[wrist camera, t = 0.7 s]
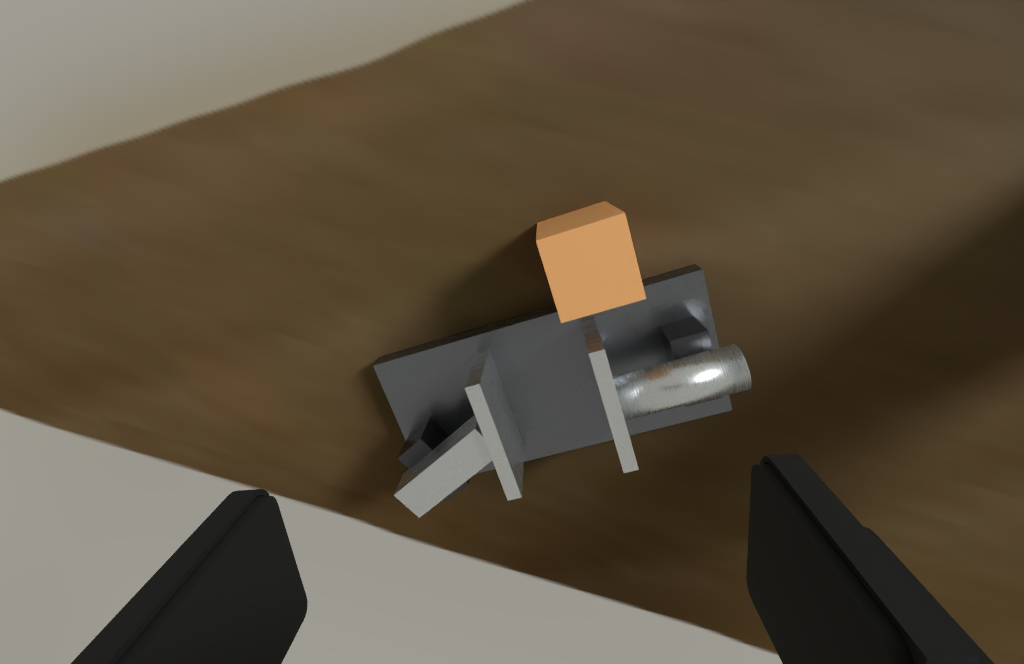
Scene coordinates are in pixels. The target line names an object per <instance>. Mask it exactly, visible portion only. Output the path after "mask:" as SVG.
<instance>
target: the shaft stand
mask: <svg viewBox="0 0 1024 664" xmlns="http://www.w3.org/2000/svg"><path fill="white" fill-rule="evenodd" d="M642 283H643V287H644V291H645V295H646V299H644V300H641V301H637V302H634V303H630V304H627V305H623V306H620V307H616V308H613V309H609V310H606V311H602V312H599V313H595V314H592V315H588V316H585V317H581V318H578V319H575V320H571V321H568V322H564V323H561V321H560V318H559V315H558V311H557V308H556V305H555V306H551V307H548V308H544V309H541V310H538V311H534V312H531V313H527V314H524V315H521V316H517V317H514V318H510V319H507V320H504V321H500V322H497V323H493V324H490V325H487V326H483V327H480V328H476V329H473V330H470V331H466V332H463V333H459V334H456V335H453V336H449V337H446V338H442V339H439V340H436V341H432V342H429V343H425V344H422V345H419V346H415V347H412V348H408V349H405V350H402V351H398V352H395V353H391V354H388V355H385V356H381V357H380V358H379V359H378V360H377V361H376V363H375V364H374V365H373V367H374V370H375V372H376V374H377V376H378V379H379V381H380V383H381V385H382V388H383V390H384V392H385V395H386V397H387V399H388V401H389V404H390V406H391V408H392V411H393V413H394V415H395V417H396V420H397V422H398V424H399V426H400V429H401V431H402V433H403V436H404V438H405V440H406V442H405V444H404V446H403V448H402V450H401V452H400V454H399V456H398V458H397V459H398V460H399V461H400V462H401V463H403V464H404V465H405V466H406V467H407V468H408V469H409V470H408V471H406V472H405V473H404V474H403V476H402V478H401V480H400V482H399V485H398V487H397V489H396V491H395V494H394V496H395V497H396V498H397V499H398V500H400V501H401V502H402V503H403V504H404V505H405V506H406V507H408V508H409V509H410V510H411V511H412V512H413V513H414V514H415V515H417V516H418V517H419V518H420V517H421V516H422V515H424V514H425V513H426V512H427V511H429V510H430V509H431V508H432V507H434V506H435V505H436V504H438V503H439V502H440V501H441V500H444V501H445V502H446V501H447V500H448V499H450V498H451V497H452V496H453V495H455V494H456V493H457V492H458V491H460V490H461V489H462V488H464V487H465V486H466V485H467V484H469V480H470V478H471V477H472V476H473V475H474V474H477V473H481V472H485V471H489V470H493V469H496V471H497V474H498V476H499V479H500V482H501V484H502V487H503V489H504V492H505V495H506V497H507V500H508V501H509V500H513V499H517V498H521V497H522V486H523V469H524V462H525V461H529V460H533V459H537V458H542V457H546V456H550V455H554V454H558V453H562V452H566V451H570V450H574V449H578V448H582V447H586V446H590V445H594V444H598V443H602V442H606V441H610V440H614V442H615V445H616V448H617V452H618V455H619V459H620V462H621V465H622V469H623V472H624V473H627V472H631V471H635V470H639V468H638V465H637V461H636V458H635V454H634V451H633V447H632V444H631V440H630V437H629V436H630V435H634V434H638V433H642V432H646V431H650V430H654V429H658V428H663V427H667V426H671V425H675V424H679V423H683V422H687V421H691V420H695V419H699V418H703V417H707V416H711V415H715V414H719V413H723V412H727V411H731V410H732V406H731V402H730V397H729V394H733V393H737V392H741V391H745V390H749V389H750V388H751V384H752V383H751V375H750V371H749V367H748V364H747V362H746V359H745V357H744V355H743V353H742V351H741V350H740V348H739V347H738V346H737V345H736V344H731V345H728V346H724V347H720V348H719V344H718V339H717V335H716V330H715V325H714V320H713V316H712V311H711V306H710V301H709V296H708V292H707V287H706V282H705V277H704V273H703V269H701V268H700V267H698V266H697V265H695V264H694V265H690V266H687V267H684V268H680V269H677V270H673V271H670V272H667V273H663V274H660V275H656V276H653V277H650V278H646V279H643V280H642Z"/></svg>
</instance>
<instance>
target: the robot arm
mask: <svg viewBox="0 0 1024 664" xmlns="http://www.w3.org/2000/svg"><path fill="white" fill-rule="evenodd" d="M747 586H748V590H749V594H750V597H751V599H752V601H753V604H754V606H755V608H756V610H757V612H758V614H759V616H760V618H761V620H762V622H763V624H764V626H765V628H766V630H767V632H768V634H769V636H770V638H771V640H772V642H773V644H774V646H775V649H776V651H777V653H778V655H779V657H780V659H781V661H782V663H783V664H994V663H993V662H992V661H991V660H990V659H989V658H988V656H987V655H986V654H985V653H984V652H983V651H982V650H981V649H980V648H979V647H978V645H977V644H976V643H975V642H974V641H973V640H972V639H971V638H970V637H969V636H968V634H967V633H966V632H965V631H964V630H963V629H962V628H961V627H960V626H959V625H958V623H957V622H956V621H955V620H954V619H953V618H952V617H951V616H950V615H949V614H948V613H947V611H946V610H945V609H944V608H943V607H942V606H941V605H940V604H939V603H938V602H937V600H936V599H935V598H934V597H933V596H932V595H931V594H930V593H929V592H928V591H927V589H926V588H925V587H924V586H923V585H922V584H921V583H920V582H919V581H918V580H917V579H916V577H915V576H914V575H913V574H912V573H911V572H910V571H909V570H908V569H907V568H906V566H905V565H904V564H903V563H902V562H901V561H900V560H899V559H898V558H897V557H896V555H895V554H894V553H893V552H892V551H891V550H890V549H889V548H888V547H887V546H886V545H885V543H884V542H883V541H882V540H881V539H880V538H879V537H878V536H877V535H876V534H875V533H874V532H873V531H872V530H870V529H869V528H866V527H864V526H862V525H861V524H860V523H859V521H858V520H857V519H856V518H855V517H854V516H853V515H852V514H851V512H850V511H849V510H848V509H847V508H846V507H845V506H844V505H843V504H842V502H841V501H840V500H839V499H838V498H837V497H836V496H835V495H834V493H833V492H832V491H831V490H830V489H829V488H828V487H827V486H826V485H825V483H824V482H823V481H822V480H821V479H820V478H819V477H818V476H817V474H816V473H815V472H814V471H813V470H812V469H811V468H810V467H809V466H808V464H807V463H806V462H805V461H804V460H803V459H802V458H801V457H800V456H799V455H797V454H788V455H773V456H764V457H763V458H762V460H761V464H758V465H754V466H753V467H752V472H751V493H750V515H749V536H748V558H747ZM306 611H307V597H306V593H305V591H304V587H303V584H302V581H301V578H300V574H299V571H298V568H297V565H296V561H295V558H294V555H293V551H292V548H291V545H290V542H289V538H288V535H287V532H286V529H285V526H284V522H283V519H282V516H281V513H280V509H279V506H278V503H277V501H276V499H275V498H274V497H273V496H269V494H268V492H267V491H266V490H263V489H257V490H243V491H234V492H232V493H231V494H229V495H228V496H227V498H226V499H225V500H224V501H223V502H222V503H221V504H220V505H219V506H218V507H217V508H216V509H215V510H214V511H213V512H212V513H211V515H210V516H209V517H208V518H207V519H206V520H205V521H204V522H203V523H202V524H201V525H200V526H199V527H198V528H197V530H196V531H195V532H194V533H193V534H192V535H191V536H190V537H189V538H188V539H187V540H186V541H185V542H184V543H183V544H182V545H181V547H180V548H179V549H178V550H177V551H176V552H175V553H174V554H173V555H172V556H171V558H169V559H168V560H167V561H166V563H165V564H164V565H163V566H162V567H161V568H160V569H159V570H158V571H157V572H156V573H155V574H154V575H153V577H152V578H151V579H150V580H149V581H148V582H147V583H146V584H145V585H144V586H143V587H142V588H141V589H140V590H139V591H138V592H137V594H136V595H135V596H134V597H133V598H132V599H131V600H130V601H129V602H128V603H127V604H126V605H125V607H123V608H122V610H121V611H120V612H119V613H118V614H117V615H116V616H115V617H114V618H113V619H112V620H111V621H110V622H109V623H108V624H107V626H106V627H105V628H104V629H103V630H102V631H101V632H100V633H99V634H98V635H97V636H96V637H95V639H94V640H93V641H92V642H91V643H90V644H89V645H88V646H87V647H86V648H85V649H84V650H83V651H82V652H81V653H80V655H78V657H77V658H76V659H75V660H74V661H73V662H72V663H71V664H281V663H282V661H283V659H284V657H285V655H286V653H287V651H288V649H289V647H290V646H291V644H292V642H293V640H294V638H295V636H296V634H297V632H298V630H299V628H300V626H301V624H302V622H303V620H304V618H305V615H306Z"/></svg>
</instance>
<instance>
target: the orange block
mask: <svg viewBox="0 0 1024 664" xmlns="http://www.w3.org/2000/svg"><path fill="white" fill-rule="evenodd" d="M536 243H537V246H538V249H539V253H540V256H541V259H542V262H543V266H544V269H545V272H546V275H547V279H548V282H549V285H550V288H551V292H552V295H553V298H554V302H555V305H556V308H557V311H558V315H559V318H560V321H561V323H564V322H568V321H571V320H575V319H578V318H581V317H585V316H588V315H592V314H595V313H599V312H602V311H606V310H609V309H613V308H616V307H620V306H623V305H627V304H630V303H634V302H637V301H641V300H644V299H646V295H645V291H644V287H643V283H642V279H641V275H640V271H639V267H638V263H637V259H636V255H635V251H634V247H633V243H632V239H631V235H630V231H629V227H628V223H627V219H626V215H625V212H623V211H621V210H620V209H618V208H616V207H615V206H613V205H611V204H609V203H608V202H606V201H604V202H601V203H598V204H594V205H591V206H588V207H585V208H582V209H579V210H576V211H573V212H570V213H566V214H563V215H560V216H557V217H554V218H551V219H548V220H545V221H542V222H538V223H537V233H536Z"/></svg>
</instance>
